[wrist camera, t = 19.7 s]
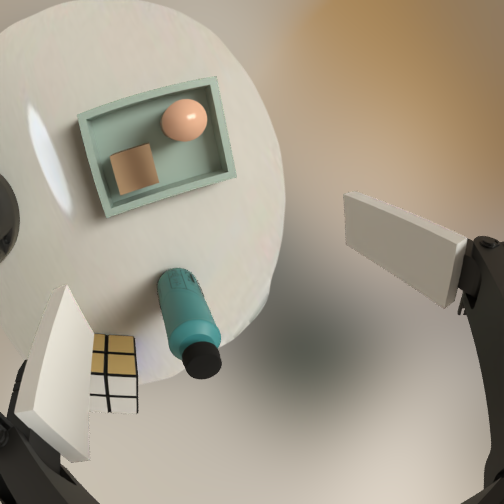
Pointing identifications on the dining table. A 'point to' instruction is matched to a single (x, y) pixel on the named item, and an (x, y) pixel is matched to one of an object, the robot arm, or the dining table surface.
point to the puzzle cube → (114, 375)
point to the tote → (157, 144)
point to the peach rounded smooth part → (183, 120)
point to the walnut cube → (134, 168)
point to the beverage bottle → (189, 323)
